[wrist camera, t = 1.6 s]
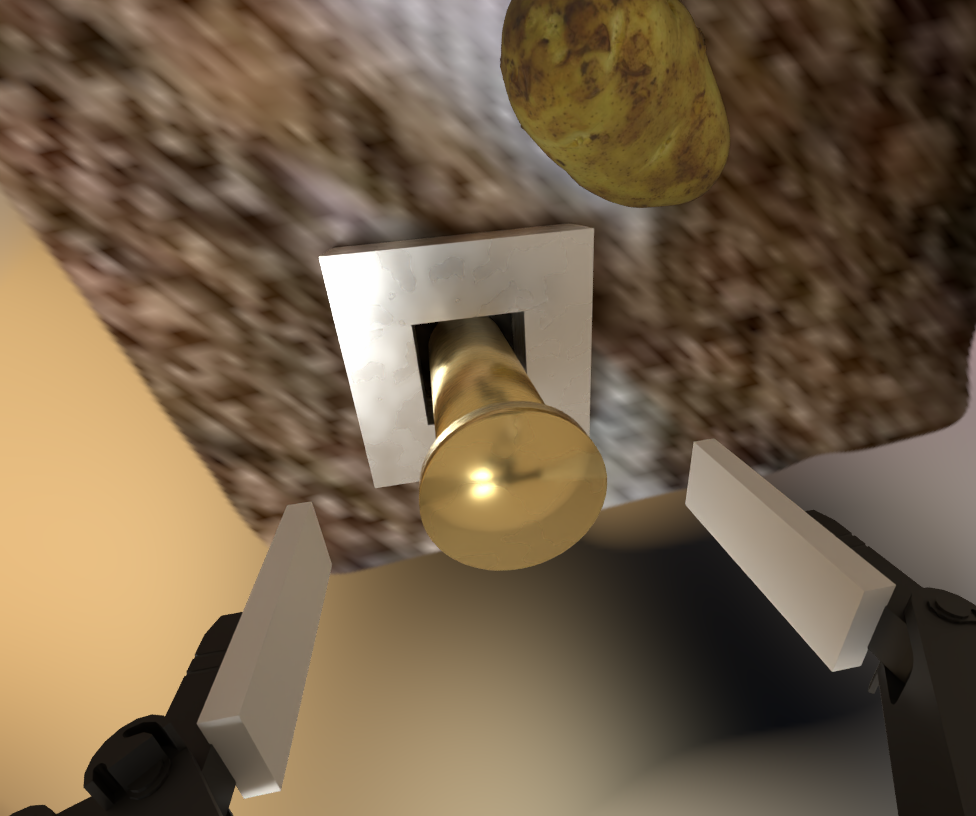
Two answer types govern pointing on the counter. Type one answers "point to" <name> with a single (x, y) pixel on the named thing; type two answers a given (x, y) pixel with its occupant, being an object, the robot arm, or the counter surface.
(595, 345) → the counter surface
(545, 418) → the gold tall flared cylinder
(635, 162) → the potato
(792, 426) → the counter surface
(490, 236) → the housing
